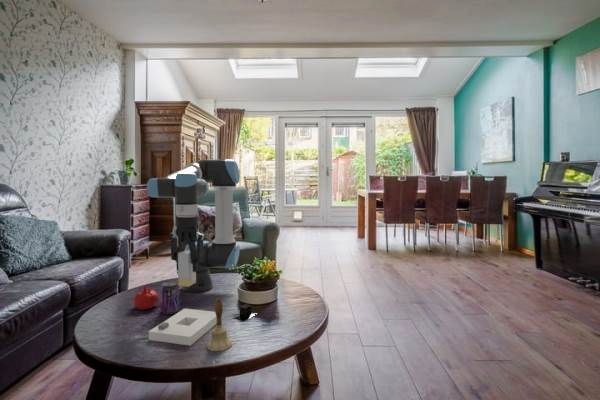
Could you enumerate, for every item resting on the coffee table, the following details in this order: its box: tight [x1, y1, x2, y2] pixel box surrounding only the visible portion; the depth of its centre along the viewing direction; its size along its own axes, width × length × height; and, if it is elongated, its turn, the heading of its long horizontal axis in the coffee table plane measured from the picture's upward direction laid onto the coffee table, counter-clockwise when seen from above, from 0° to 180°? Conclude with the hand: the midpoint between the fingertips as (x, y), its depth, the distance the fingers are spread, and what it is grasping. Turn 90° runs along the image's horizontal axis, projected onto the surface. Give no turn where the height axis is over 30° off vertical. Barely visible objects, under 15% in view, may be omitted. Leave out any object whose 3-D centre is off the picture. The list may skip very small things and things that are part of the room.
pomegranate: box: [132, 286, 160, 311], centre depth 151 cm, size 10×10×9 cm
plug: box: [177, 249, 196, 287], centre depth 128 cm, size 5×4×12 cm
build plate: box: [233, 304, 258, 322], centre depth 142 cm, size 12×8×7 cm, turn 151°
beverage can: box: [160, 280, 180, 315], centre depth 146 cm, size 7×7×12 cm
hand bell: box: [206, 297, 233, 352], centre depth 117 cm, size 8×8×16 cm
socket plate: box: [148, 307, 217, 347], centre depth 129 cm, size 22×16×4 cm
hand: (187, 279), depth 128 cm, fingers closed on plug, 4 cm apart
